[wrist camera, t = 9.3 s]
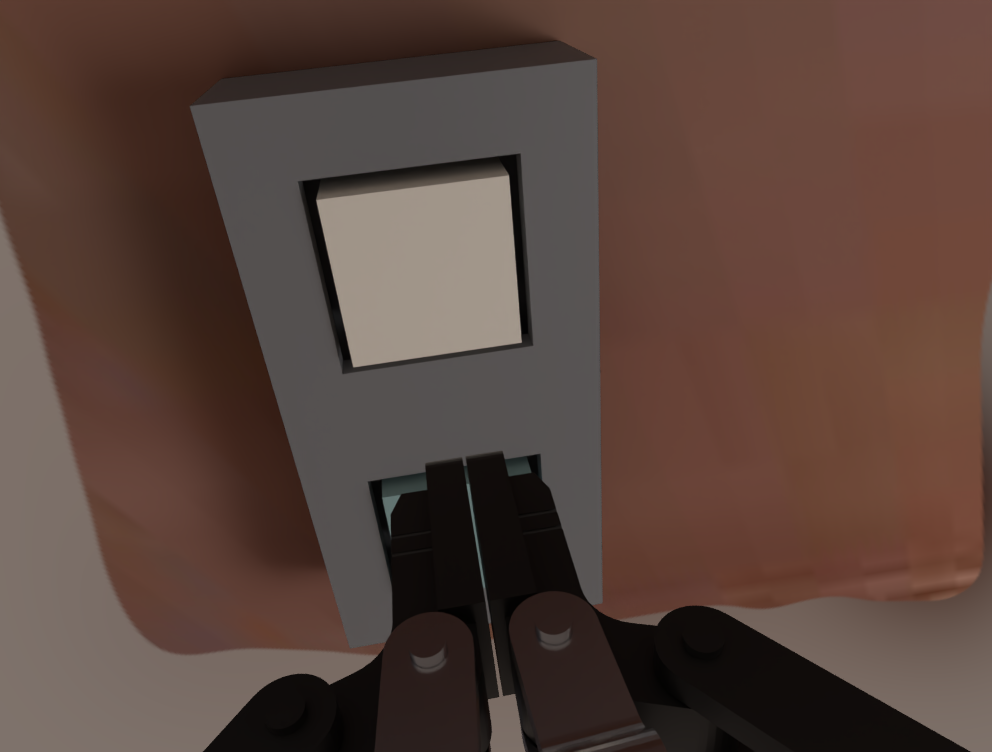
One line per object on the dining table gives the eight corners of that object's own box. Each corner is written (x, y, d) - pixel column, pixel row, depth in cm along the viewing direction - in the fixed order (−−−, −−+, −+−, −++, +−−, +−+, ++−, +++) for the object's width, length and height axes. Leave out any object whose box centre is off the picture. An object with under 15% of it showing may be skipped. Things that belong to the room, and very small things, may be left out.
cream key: (494, 152, 25) (509, 175, 22) (508, 306, 28) (521, 342, 25) (322, 173, 24) (316, 200, 22) (355, 328, 28) (353, 367, 25)
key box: (559, 40, 26) (597, 58, 21) (576, 530, 38) (602, 603, 34) (220, 78, 25) (189, 106, 20) (352, 568, 37) (349, 648, 33)
